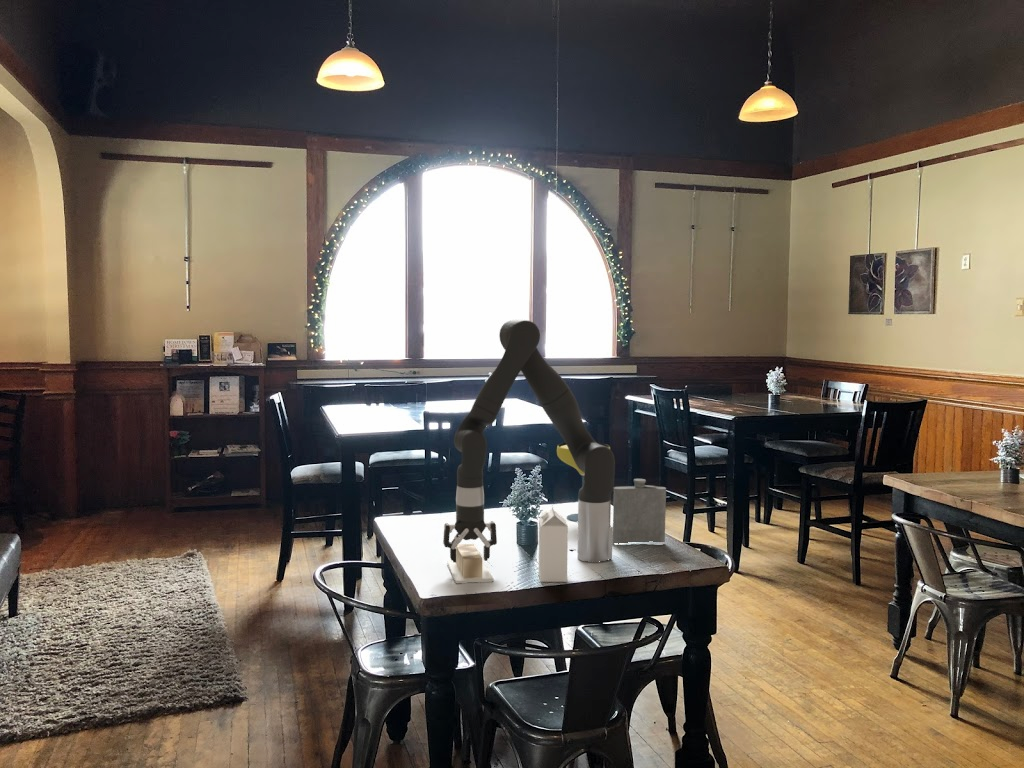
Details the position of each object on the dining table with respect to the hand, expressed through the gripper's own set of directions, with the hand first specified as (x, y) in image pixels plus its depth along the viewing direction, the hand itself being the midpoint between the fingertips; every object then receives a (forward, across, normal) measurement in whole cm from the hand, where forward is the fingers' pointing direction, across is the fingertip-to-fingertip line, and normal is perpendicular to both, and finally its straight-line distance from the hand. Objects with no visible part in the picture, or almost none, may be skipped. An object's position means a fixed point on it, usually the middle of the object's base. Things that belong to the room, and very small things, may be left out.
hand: (470, 560), depth 231 cm
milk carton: (+4, +21, -8) cm, 23 cm away
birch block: (0, 0, +7) cm, 7 cm away
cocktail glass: (+4, +47, +52) cm, 70 cm away
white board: (+3, 0, 0) cm, 3 cm away
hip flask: (+4, +55, +18) cm, 58 cm away
